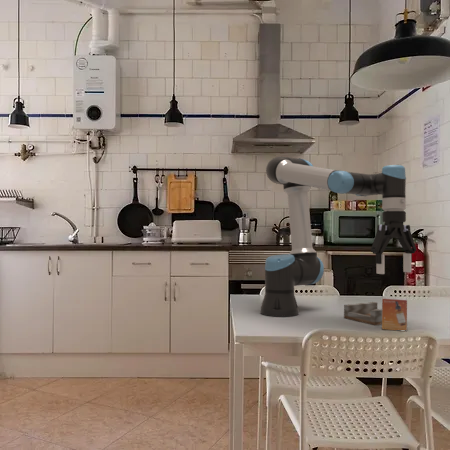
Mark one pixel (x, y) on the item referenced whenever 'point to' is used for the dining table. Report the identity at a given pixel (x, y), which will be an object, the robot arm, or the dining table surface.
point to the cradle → (364, 313)
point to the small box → (394, 313)
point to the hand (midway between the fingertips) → (394, 273)
